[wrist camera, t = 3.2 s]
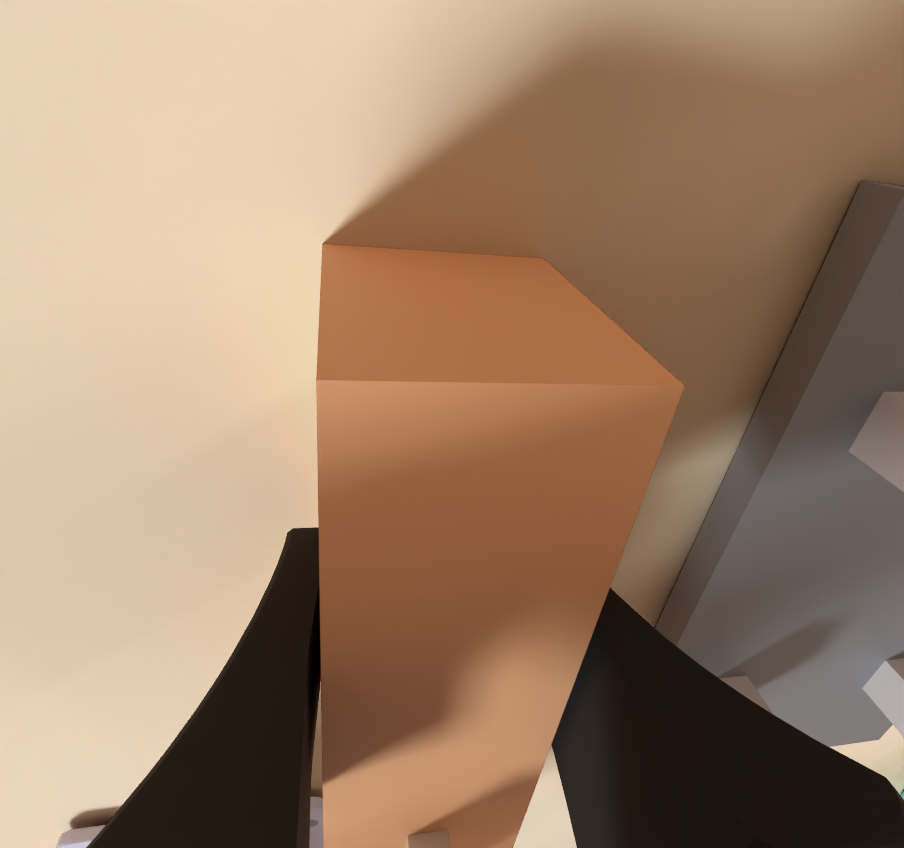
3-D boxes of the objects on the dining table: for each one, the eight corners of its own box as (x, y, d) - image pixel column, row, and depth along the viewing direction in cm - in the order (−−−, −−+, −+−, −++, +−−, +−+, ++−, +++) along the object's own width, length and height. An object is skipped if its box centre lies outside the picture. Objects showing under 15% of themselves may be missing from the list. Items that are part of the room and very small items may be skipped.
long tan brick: (463, 662, 17) (542, 1011, 10) (325, 675, 16) (323, 1063, 10) (543, 258, 10) (851, 535, 4) (322, 243, 10) (307, 563, 3)
